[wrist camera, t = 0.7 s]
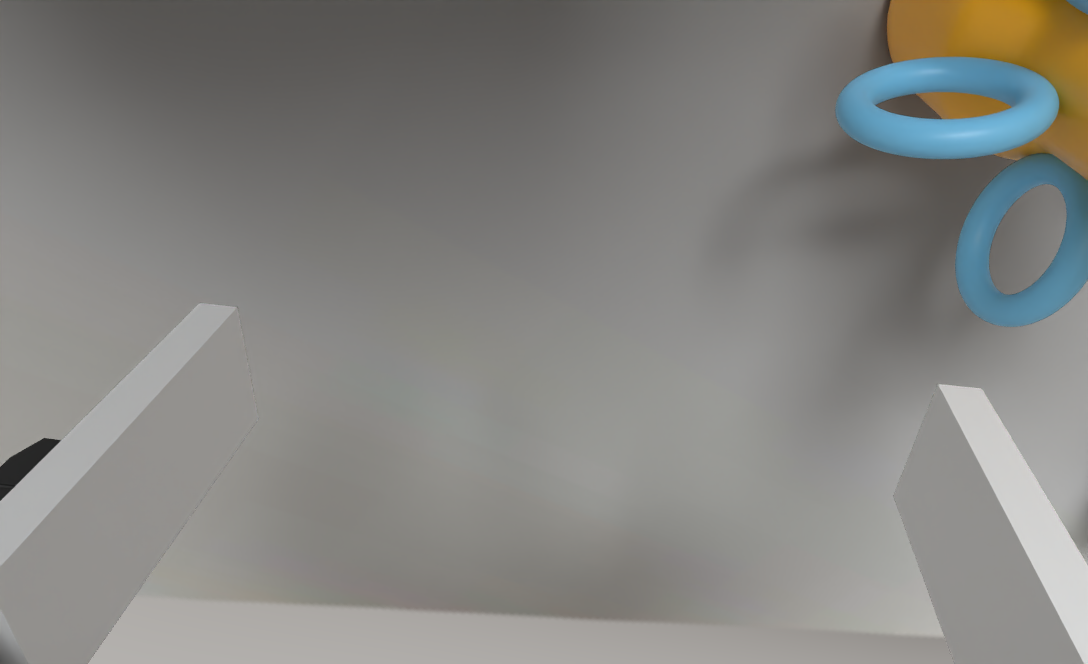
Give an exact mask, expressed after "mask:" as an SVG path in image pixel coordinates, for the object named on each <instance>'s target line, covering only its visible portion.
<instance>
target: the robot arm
mask: <svg viewBox="0 0 1088 664" xmlns="http://www.w3.org/2000/svg"><path fill="white" fill-rule="evenodd" d="M258 419H259V417H258V412H257V407H256V402H255V396H254V391H253V386H252V380H251V375H250V370H249V365H248V359H247V354H246V349H245V343H244V338H243V333H242V328H241V322H240V317H239V312H238V307H233V306H224V305H214V304H205V303H199V304H198V305H197V306H196V307H195V308H194V309H193V310H192V311H191V312H190V313H189V314H188V315H187V316H186V317H185V318H184V319H183V320H182V321H181V322H180V323H179V324H178V325H177V326H176V327H175V328H174V329H173V330H172V331H171V332H170V333H169V334H168V335H167V336H166V337H165V338H164V339H163V340H162V341H161V342H160V343H159V344H158V345H157V346H156V347H155V348H154V349H153V350H152V351H151V352H150V353H149V354H148V355H147V356H146V357H145V358H144V359H143V360H142V361H141V362H140V363H139V364H138V365H137V366H136V367H135V368H134V369H133V370H132V371H131V372H130V373H129V374H128V375H127V376H126V377H125V378H124V379H123V380H122V381H121V382H120V383H119V384H118V385H117V386H116V387H115V388H114V389H113V390H112V391H111V392H110V393H109V394H108V395H107V396H106V397H105V398H104V399H103V400H102V401H101V402H100V403H99V404H98V405H96V406H95V407H94V408H93V409H92V410H91V411H90V412H89V413H88V414H87V415H86V416H85V417H84V418H83V419H82V420H81V421H80V422H79V423H78V424H77V425H76V426H75V427H74V428H73V429H72V430H71V431H70V432H69V433H68V434H67V435H66V436H65V437H64V438H63V439H62V440H55V439H47V438H44V439H42V440H40V441H38V442H37V443H35V444H33V445H31V446H30V447H28V448H26V449H24V450H23V451H21V452H19V453H17V454H16V455H14V456H12V457H10V458H9V459H8V460H7V461H6V462H5V463H4V464H3V465H2V466H1V467H0V664H88V663H89V661H90V660H91V658H92V657H93V655H94V654H95V652H96V651H97V650H98V648H99V646H100V645H101V644H102V642H103V641H104V640H105V638H106V637H107V635H108V634H109V632H110V631H111V630H112V628H113V627H114V625H115V624H116V622H117V621H118V620H119V618H120V617H121V615H122V614H123V612H124V611H125V610H126V608H127V606H128V605H129V604H130V602H131V601H132V600H133V598H134V597H135V595H136V594H137V592H138V591H139V590H140V588H141V587H142V585H143V584H144V582H145V581H146V579H147V578H148V577H149V575H150V574H151V572H152V571H153V569H154V568H155V567H156V565H157V564H158V562H159V561H160V559H161V558H162V557H163V555H164V554H165V552H166V551H167V549H168V548H169V547H170V545H171V544H172V542H173V541H174V539H175V538H176V537H177V535H178V534H179V532H180V531H181V529H182V528H183V527H184V525H185V524H186V522H187V521H188V519H189V518H190V516H191V515H192V514H193V512H194V511H195V509H196V508H197V506H198V505H199V504H200V502H201V501H202V499H203V498H204V496H205V495H206V494H207V492H208V491H209V489H210V488H211V486H212V485H213V484H214V482H215V481H216V479H217V478H218V476H219V475H220V474H221V472H222V471H223V469H224V468H225V466H226V465H227V464H228V462H229V461H230V459H231V458H232V456H233V455H234V453H235V452H236V451H237V449H238V448H239V446H240V445H241V443H242V442H243V441H244V439H245V438H246V436H247V435H248V433H249V432H250V431H251V429H252V428H253V426H254V425H255V423H256V422H257V421H258ZM893 497H894V499H895V502H896V505H897V508H898V510H899V513H900V516H901V519H902V521H903V524H904V527H905V530H906V532H907V535H908V538H909V541H910V543H911V546H912V549H913V552H914V554H915V557H916V560H917V563H918V565H919V568H920V571H921V574H922V576H923V579H924V582H925V585H926V587H927V590H928V593H929V596H930V598H931V601H932V604H933V607H934V609H935V612H936V615H937V618H938V620H939V623H940V626H941V629H942V631H943V634H944V637H945V640H946V642H947V645H948V648H949V651H950V653H951V656H952V659H953V662H954V664H1088V565H1087V563H1086V562H1085V560H1084V558H1083V557H1082V555H1081V553H1080V552H1079V550H1078V548H1077V547H1076V545H1075V543H1074V542H1073V540H1072V538H1071V537H1070V535H1069V533H1068V532H1067V530H1066V528H1065V527H1064V525H1063V523H1062V522H1061V520H1060V518H1059V517H1058V515H1057V513H1056V512H1055V510H1054V508H1053V507H1052V505H1051V503H1050V502H1049V500H1048V498H1047V497H1046V495H1045V493H1044V492H1043V490H1042V488H1041V487H1040V485H1039V483H1038V482H1037V480H1036V478H1035V477H1034V475H1033V473H1032V472H1031V470H1030V468H1029V467H1028V465H1027V463H1026V462H1025V460H1024V458H1023V457H1022V455H1021V453H1020V452H1019V450H1018V448H1017V447H1016V445H1015V443H1014V441H1013V440H1012V438H1011V436H1010V435H1009V433H1008V431H1007V430H1006V428H1005V426H1004V425H1003V423H1002V421H1001V420H1000V418H999V416H998V415H997V413H996V411H995V410H994V408H993V406H992V405H991V403H990V401H989V400H988V398H987V396H986V395H985V393H984V391H983V390H982V389H980V388H971V387H962V386H953V385H943V384H938V385H937V387H936V390H935V392H934V395H933V397H932V400H931V402H930V405H929V407H928V410H927V412H926V415H925V417H924V420H923V422H922V425H921V427H920V430H919V432H918V435H917V437H916V440H915V442H914V445H913V447H912V450H911V452H910V455H909V457H908V460H907V462H906V465H905V467H904V470H903V472H902V475H901V477H900V480H899V482H898V485H897V487H896V490H895V492H894V495H893Z"/></svg>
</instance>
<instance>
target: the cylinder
mask: <svg viewBox="0 0 1088 664" xmlns="http://www.w3.org/2000/svg"><path fill="white" fill-rule="evenodd" d="M887 41H888V47H889V52H890V56H891V59H892V62H893V63H892V64H888V65H885V66H881V67H878V68H875V69H873V70H870V71H868V72H866V73H864V74H862V75H860V76H858V77H857V78H855V79H854V80H852V81H851V82H850V83H849V84H848V85H846V87H845V88H844V89H843V90H842V91H841V93H840V95H839V97H838V99H837V102H836V108H835V112H836V118H837V121H838V123H839V125H840V126H841V128H842V129H843V130H844V131H845V132H846V133H847V134H848V135H849V136H850V137H851V138H853V139H854V140H856V141H858V142H859V143H861V144H863V145H866V146H868V147H870V148H873V149H876V150H879V151H882V152H886V153H890V154H895V155H900V156H906V157H913V158H924V159H963V158H973V157H981V156H987V155H992V154H993V155H996V156H999V157H1002V158H1007V159H1012V160H1018V161H1016V162H1014V163H1012V164H1011V165H1009V166H1008V167H1007V168H1005V169H1004V170H1003V171H1001V172H1000V173H999V174H998V175H997V176H996V177H995V178H994V179H993V180H992V181H991V182H990V183H989V184H988V185H987V186H986V187H985V188H984V190H983V191H982V192H981V194H980V195H979V196H978V198H977V199H976V201H975V202H974V204H973V206H972V208H971V209H970V211H969V213H968V215H967V217H966V220H965V222H964V224H963V227H962V230H961V233H960V236H959V240H958V245H957V250H956V260H955V271H956V279H957V284H958V288H959V291H960V294H961V296H962V298H963V300H964V302H965V303H966V305H967V306H968V307H969V309H970V310H971V311H972V312H973V313H974V314H976V315H977V316H978V317H979V318H981V319H983V320H984V321H986V322H989V323H991V324H994V325H998V326H1005V327H1017V326H1024V325H1028V324H1032V323H1035V322H1037V321H1040V320H1042V319H1044V318H1046V317H1048V316H1050V315H1052V314H1053V313H1055V312H1056V311H1058V310H1059V309H1060V308H1062V307H1063V306H1064V305H1065V304H1067V303H1068V302H1069V301H1070V300H1071V299H1072V298H1073V297H1074V296H1075V295H1076V294H1077V293H1078V292H1079V290H1080V289H1081V288H1082V287H1083V285H1084V284H1085V283H1086V281H1087V280H1088V0H891V1H890V6H889V10H888V15H887ZM910 94H917V95H918V96H919V97H920V98H921V99H922V100H923V101H924V102H925V103H926V104H927V105H928V106H929V107H931V108H932V109H933V110H934V111H935V112H936V113H937V114H938V115H939V116H940V117H941V118H942V119H926V118H916V117H909V116H903V115H898V114H894V113H891V112H888V111H885V110H882V109H880V108H878V107H877V106H875V105H877V104H879V103H881V102H883V101H886V100H889V99H892V98H895V97H900V96H904V95H910ZM1043 184H1051V185H1054V186H1056V187H1057V188H1058V189H1059V190H1060V191H1061V193H1062V195H1063V197H1064V200H1065V203H1066V210H1067V220H1066V228H1065V233H1064V237H1063V240H1062V243H1061V245H1060V248H1059V250H1058V252H1057V254H1056V256H1055V258H1054V260H1053V261H1052V263H1051V265H1050V266H1049V267H1048V269H1047V270H1046V271H1045V273H1044V274H1043V275H1042V276H1041V277H1040V278H1039V279H1038V280H1037V281H1036V282H1035V283H1034V284H1032V285H1031V286H1030V287H1028V288H1027V289H1025V290H1023V291H1021V292H1019V293H1016V294H1011V295H1007V294H1003V293H1001V292H1000V291H998V290H997V288H996V287H995V286H994V284H993V282H992V279H991V276H990V271H989V255H990V248H991V244H992V240H993V237H994V235H995V232H996V230H997V227H998V225H999V223H1000V222H1001V220H1002V218H1003V217H1004V215H1005V214H1006V212H1007V211H1008V209H1009V208H1010V207H1011V206H1012V205H1013V203H1014V202H1015V201H1016V200H1017V199H1018V198H1019V197H1021V196H1022V195H1023V194H1024V193H1026V192H1027V191H1029V190H1030V189H1032V188H1034V187H1036V186H1039V185H1043Z"/></svg>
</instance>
